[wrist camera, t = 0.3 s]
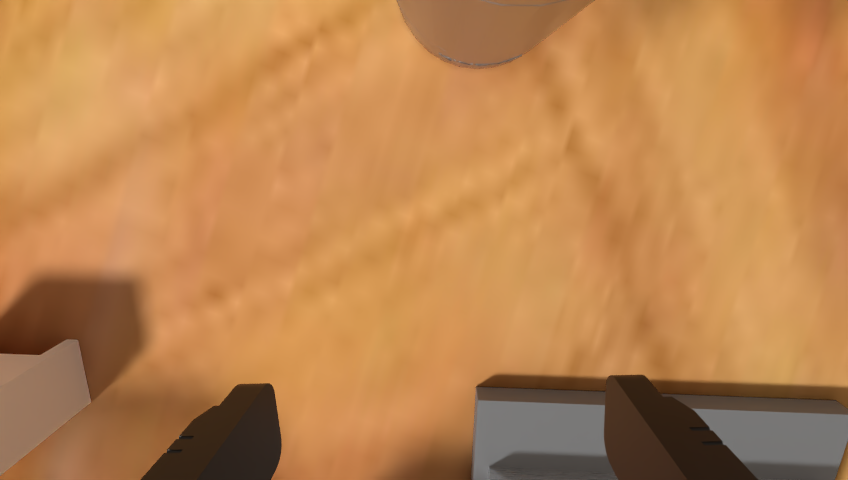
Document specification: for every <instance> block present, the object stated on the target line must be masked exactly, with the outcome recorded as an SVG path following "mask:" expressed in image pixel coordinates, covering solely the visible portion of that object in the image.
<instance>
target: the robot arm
mask: <svg viewBox="0 0 848 480" xmlns="http://www.w3.org/2000/svg"><path fill="white" fill-rule="evenodd" d="M593 1H594V0H397V2H398V5H399V7H400V10H401V12H402V15H403V17H404V20H405V22H406V24H407V26H408V27H409V29H410V30H411V32H412V33H413V35H414V36H415V38H416V39H417V40H418V41H419V42H420V43H421V44H422V45H423V46H424V47H425V48H426V49H427V50H428V51H429V52H431V53H432V54H434V55H435V56H437V57H438V58H440V59H441V60H443V61H445V62H448V63H451V64H453V65H456V66H459V67H465V68H473V69H481V68H492V67H496V66H499V65H503V64H506V63H509V62H511V61H513V60H515V59H517V58H518V57H521V56H522V55H523V54H525V53H527V52H528V51H530V50H531V49H532V48H533V47H535V46H536V45H537V44H539V43H540V42H541V41H543V40H544V39H545V38H547V37H548V36H549V35H551V34H552V33H553V32H555V31H556V30H557V29H558V28H560V27H561V26H562V25H564V24H565V23H566V22H567V21H569V20H570V19H571V18H573V17H574V16H575V15H576V14H578V13H579V12H580V11H582V10H583V9H584V8H585V7H587V6H588V5H589V4H591V3H592V2H593ZM604 444H605V449H606V454H607V457H608V460H609V463H610V465H611V467H612V469H613V471H614V473H615V475H616V476H617V478H618V480H758V479H757V478H756V477H755V476H754V475H753V474H752V473H751V471H750V470H749V469H748V468H747V467H746V466H745V465H744V464H743V463H742V462H741V461H740V460H739V458H738V457H737V456H736V455H735V454H734V453H733V452H732V451H731V450H730V449H729V448H728V447H727V445H723V441H722V440H721V439H720V438H719V437H718V436H717V435H716V434H715V432H714V431H713V430H710V428H709V426H708V425H707V424H706V423H705V422H704V421H703V419H702V418H701V417H700V416H699V415H698V414H697V413H696V412H695V411H694V410H693V409H691V408H689V407H688V406H686V405H685V404H683V403H681V402H680V401H678V400H676V399H675V398H673V397H663V396H662V395H661V394H660V393H659V392H658V390H657V389H656V388H655V387H654V386H653V384H652V383H651V382H650V381H649V380H648V379H647V378H646V377H645V376H644V375H612V376H609V377H608V378H607V381H606V394H605V416H604ZM280 454H281V434H280V427H279V420H278V413H277V406H276V399H275V393H274V389H273V387H272V385H271V384H269V383H267V384H239V385H237V386H236V387H235V388H234V389H233V390H232V391H231V392H230V394H229V395H228V396H227V397H226V398H225V400H224V401H223V402H222V403H221V404H220V406H213V407H212V408H210V409H209V410H208V411H206V412H205V413H203V414H202V415H200V416H199V417H197V418H196V419H194V420H193V421H192V422H191V423H190V424H189V426H188V427H187V428H186V429H185V430H184V431H183V432H182V434H181V435H180V436H179V439H176V440H175V441H174V443H173V444H172V445H171V446H170V447H169V448H168V449H167V453H164V454H163V455H162V456H161V457H160V458H159V460H158V461H157V462H156V463H155V464H154V465H153V466H152V467H151V469H150V470H149V471H148V472H147V473H146V474H145V475H144V476H143V478H142V479H141V480H271V478H272V476H273V474H274V472H275V470H276V468H277V466H278V463H279V459H280Z"/></svg>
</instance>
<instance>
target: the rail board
mask: <svg viewBox="0 0 848 480" xmlns="http://www.w3.org/2000/svg"><path fill="white" fill-rule="evenodd" d="M605 394H606V392H601V391H575V390H548V389H522V388H496V387H476V397H475V415H474V432H473V450H472V467H471V480H488V469H489V467H510V468H533V469H556V470H579V471H601V472H614V471H613V469H612V467H611V465H610V463H609V460H608V457H607V454H606V449H605V444H604V416H605ZM661 395H662V396H663V397H673V398H675V399H676V400H678V401H680V402H681V403H683V404H685V405H686V406H688V407H689V408H691V409H693V410H694V411H695V412H696V413H697V414H698V415H699V416H700V417H701V418H702V419H703V421H704V422H705V423H706V424H707V425H708V426H709V428H710V430H713V431H714V432H715V434H716V435H717V436H718V437H719V438H720V439H721V440H722V441H723V445H727V447H728V448H729V449H730V450H731V451H732V452H733V453H734V454H735V455H736V456H737V457H738V458H739V460H740V461H741V462H742V463H743V464H744V465H745V466H746V467H747V468H748V469H749V470H750V471H751V473H752V474H753V475H754V476H755V477H756V478H761V479H784V480H835V478H836V475H837V472H838V469H839V466H840V463H841V460H842V457H843V454H844V450H845V447H846V444H847V441H848V409H847V408H846V407H844V406H843V405H841V404H840V403H839V402H837V401H836V400H811V399H785V398H758V397H732V396H706V395H680V394H661Z"/></svg>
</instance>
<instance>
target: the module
mask: <svg viewBox="0 0 848 480" xmlns="http://www.w3.org/2000/svg"><path fill="white" fill-rule="evenodd" d="M90 403H91V398H90V393H89V389H88V384H87V379H86V375H85V370H84V365H83V361H82V356H81V351H80V347H79V342H78V340H72V339H66V340H65V341H63V342H61V343H60V344H58V345H56V346H55V347H53V348H51V349H49V350H48V351H46V352H44V353H43V354H41V355H25V354H0V476H1V475H2V474H3V473H4V472H6V471H7V470H8V469H9V468H11V467H12V466H13V465H14V464H16V463H17V462H18V461H19V460H21V459H22V458H23V457H24V456H25V455H27V454H28V453H29V452H30V451H32V450H33V449H34V448H35V447H37V446H38V445H39V444H40V443H42V442H43V441H44V440H45V439H46V438H48V437H49V436H50V435H51V434H53V433H54V432H55V431H56V430H58V429H59V428H60V427H61V426H63V425H64V424H65V423H66V422H67V421H69V420H70V419H71V418H72V417H74V416H75V415H76V414H77V413H79V412H80V411H81V410H82V409H84V408H85V407H86V406H87V405H88V404H90Z"/></svg>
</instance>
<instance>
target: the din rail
mask: <svg viewBox="0 0 848 480" xmlns="http://www.w3.org/2000/svg"><path fill="white" fill-rule="evenodd" d="M757 479H758V480H784V479H761V478H757ZM488 480H618V478H617V476H616V475H615V473H614V472H601V471H579V470H556V469H533V468H510V467H489V469H488Z"/></svg>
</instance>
